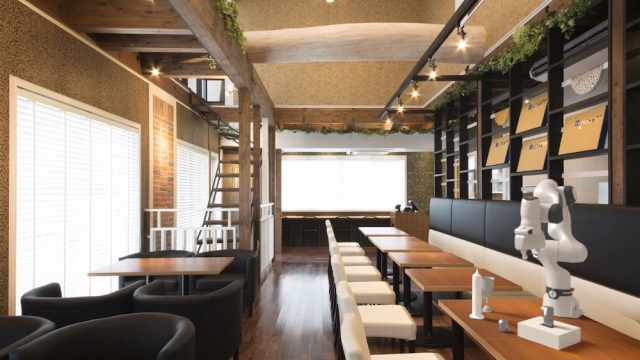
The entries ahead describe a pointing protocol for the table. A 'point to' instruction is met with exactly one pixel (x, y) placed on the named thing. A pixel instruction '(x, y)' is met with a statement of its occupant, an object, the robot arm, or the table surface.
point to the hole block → (549, 333)
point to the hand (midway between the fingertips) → (530, 258)
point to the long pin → (549, 316)
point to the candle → (477, 296)
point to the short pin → (503, 325)
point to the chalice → (487, 290)
